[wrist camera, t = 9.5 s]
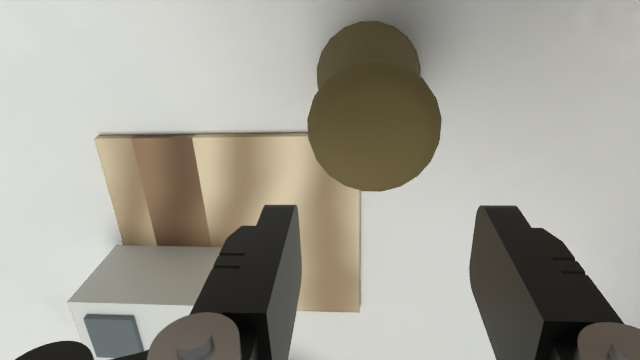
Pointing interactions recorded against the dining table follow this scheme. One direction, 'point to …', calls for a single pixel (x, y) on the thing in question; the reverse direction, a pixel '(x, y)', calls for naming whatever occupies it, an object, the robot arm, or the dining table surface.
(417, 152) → the cork
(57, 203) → the dining table surface
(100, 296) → the white box
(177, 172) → the board
